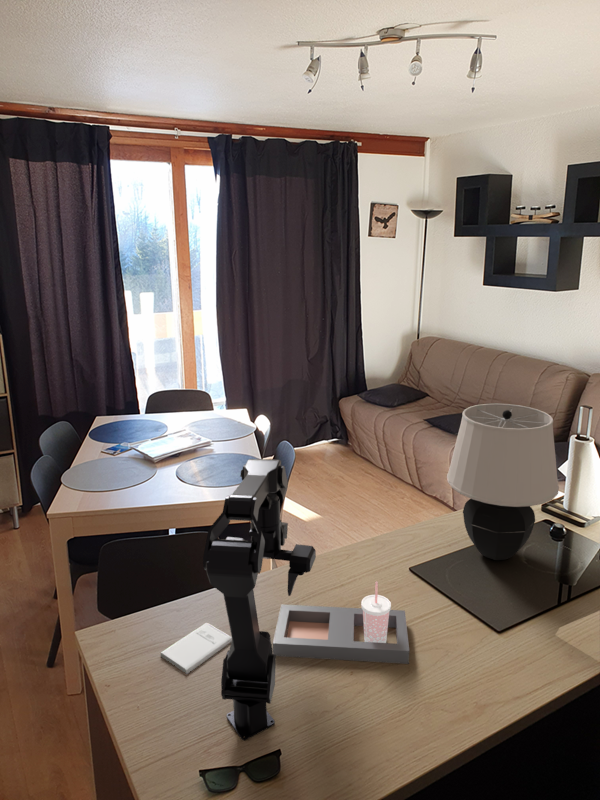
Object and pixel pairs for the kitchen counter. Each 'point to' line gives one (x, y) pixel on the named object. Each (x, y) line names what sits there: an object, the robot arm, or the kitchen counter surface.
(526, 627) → the kitchen counter surface
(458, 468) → the table lamp
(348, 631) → the cup caddy
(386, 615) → the beverage cup
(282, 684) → the kitchen counter surface
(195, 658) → the external hard drive
